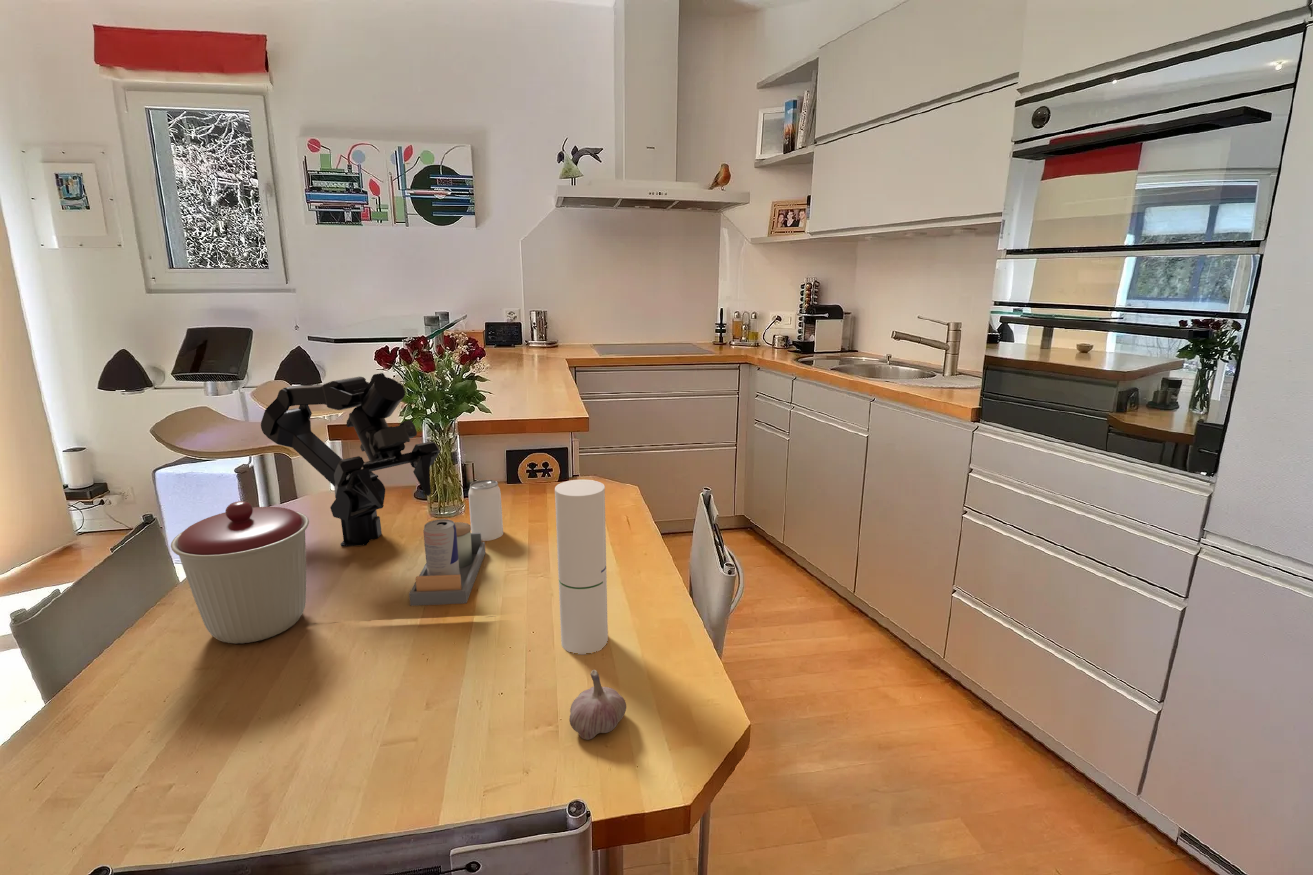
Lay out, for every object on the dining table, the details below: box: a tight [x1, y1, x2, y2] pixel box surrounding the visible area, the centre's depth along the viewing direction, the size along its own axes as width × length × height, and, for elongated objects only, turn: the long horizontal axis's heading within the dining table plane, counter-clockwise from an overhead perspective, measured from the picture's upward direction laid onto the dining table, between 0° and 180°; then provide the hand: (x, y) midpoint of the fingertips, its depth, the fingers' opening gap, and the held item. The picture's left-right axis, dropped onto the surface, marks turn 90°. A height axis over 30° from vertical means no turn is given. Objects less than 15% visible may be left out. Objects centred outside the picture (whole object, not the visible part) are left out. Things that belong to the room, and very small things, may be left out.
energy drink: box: [423, 518, 460, 576], centre depth 114 cm, size 5×5×12 cm
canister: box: [170, 500, 310, 645], centre depth 103 cm, size 18×18×21 cm
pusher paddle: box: [415, 575, 462, 592], centre depth 111 cm, size 7×1×4 cm, turn 95°
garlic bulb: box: [568, 669, 627, 741], centre depth 82 cm, size 8×7×8 cm
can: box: [467, 479, 504, 542], centre depth 137 cm, size 6×6×12 cm
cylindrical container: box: [554, 479, 609, 655], centre depth 98 cm, size 7×7×25 cm
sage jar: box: [454, 521, 473, 568], centre depth 125 cm, size 6×6×7 cm
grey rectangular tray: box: [408, 533, 486, 607], centre depth 120 cm, size 9×20×5 cm, turn 5°
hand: (406, 500), depth 122 cm, fingers open, 9 cm apart
